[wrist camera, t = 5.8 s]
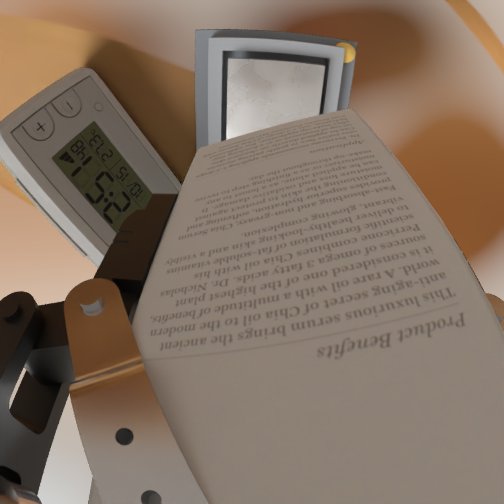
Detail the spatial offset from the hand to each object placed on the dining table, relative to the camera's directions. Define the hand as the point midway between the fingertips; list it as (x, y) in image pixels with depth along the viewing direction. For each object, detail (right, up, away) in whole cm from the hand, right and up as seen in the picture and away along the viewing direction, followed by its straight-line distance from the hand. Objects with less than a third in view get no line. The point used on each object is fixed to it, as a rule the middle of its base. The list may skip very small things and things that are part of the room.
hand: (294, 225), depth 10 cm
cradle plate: (0, +10, +12) cm, 16 cm away
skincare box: (0, +2, +3) cm, 4 cm away
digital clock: (-13, +9, +17) cm, 23 cm away
